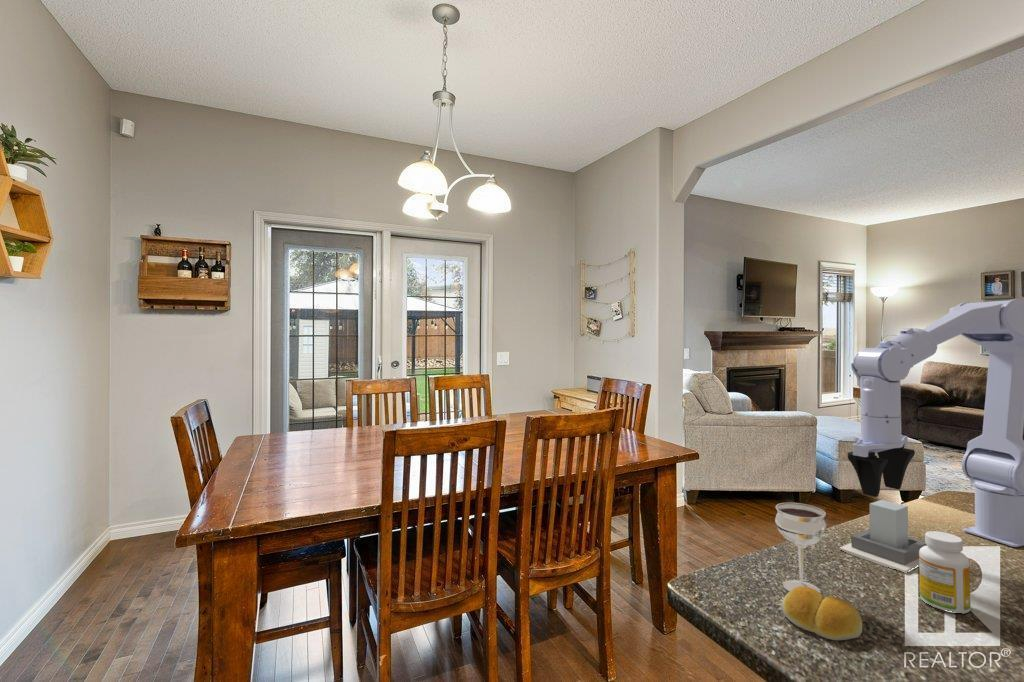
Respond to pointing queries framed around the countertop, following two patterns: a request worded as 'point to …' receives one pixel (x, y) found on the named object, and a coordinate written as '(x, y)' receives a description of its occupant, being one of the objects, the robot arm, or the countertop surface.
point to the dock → (885, 552)
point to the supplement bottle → (944, 573)
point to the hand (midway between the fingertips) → (881, 491)
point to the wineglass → (800, 532)
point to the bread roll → (822, 614)
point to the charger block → (889, 523)
